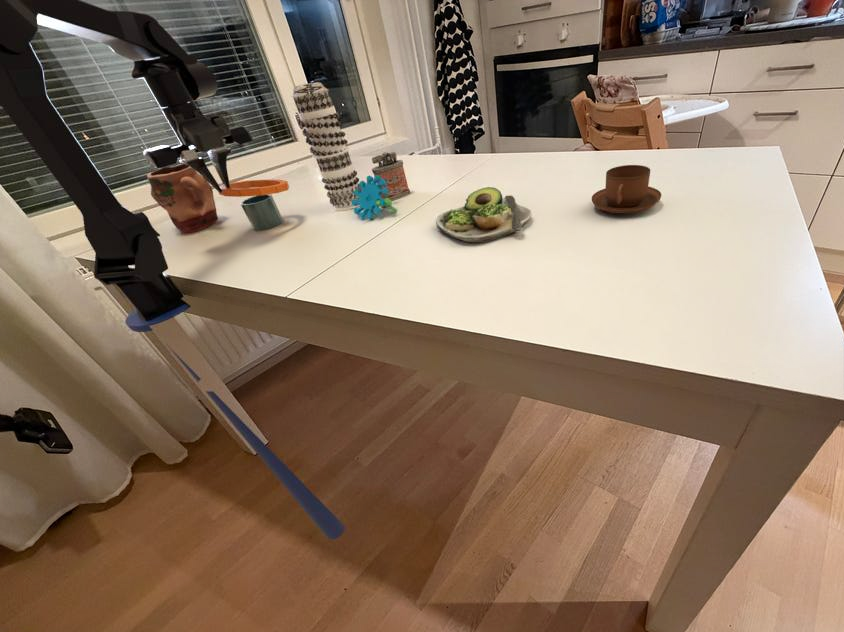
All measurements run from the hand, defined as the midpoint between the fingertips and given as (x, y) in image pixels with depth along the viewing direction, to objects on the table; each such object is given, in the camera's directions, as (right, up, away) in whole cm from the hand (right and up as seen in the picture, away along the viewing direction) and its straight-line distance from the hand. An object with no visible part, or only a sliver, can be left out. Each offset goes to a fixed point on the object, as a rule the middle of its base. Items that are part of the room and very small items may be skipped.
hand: (224, 190), depth 83 cm
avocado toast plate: (+55, -10, -7) cm, 56 cm away
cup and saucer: (+81, -8, -10) cm, 82 cm away
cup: (+3, -3, +12) cm, 13 cm away
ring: (+4, +2, +4) cm, 6 cm away
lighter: (+34, +4, +14) cm, 37 cm away
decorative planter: (-18, -1, +19) cm, 26 cm away
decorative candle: (+22, +3, +15) cm, 26 cm away
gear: (+31, -3, +6) cm, 32 cm away
